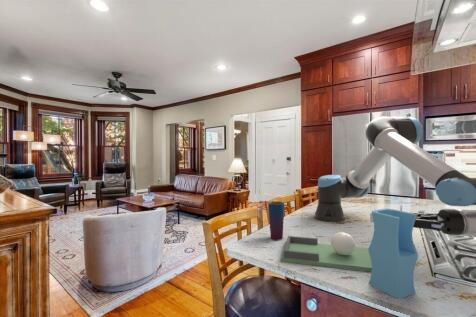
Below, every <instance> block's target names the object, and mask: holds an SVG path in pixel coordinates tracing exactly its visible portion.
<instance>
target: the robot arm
mask: <svg viewBox="0 0 476 317" xmlns="http://www.w3.org/2000/svg"><path fill="white" fill-rule="evenodd" d="M423 128H424V127H423V125H422V123H421V122H420V121H419V120H418V119H417V118H415V117H411V116H409V117H408V116H380V117H377V118H374V119H373V120H371V121H370V122H369V123H368V125H367V126H366V128H365V137H366V139H367V141H368V142H369V144H370V145H372V148H371V149H370V150H369V152H368V153H367V155H366V156H364V158H363V159H362V160H361V161H360V163H359V164H358V165H357V166H356V168H355V169H354V170H351V171H349V172H348V173H347V175H346V176H341V175H340V174H328V175H327V174H326V175H322V176H320V177H319V178H317V179H318V181H317V200H318V203H317V207H316V211H315V212H314V218H315V219H317V220H318V221H319V220H320V221H324V222H342V221H344V220H345V213H344V210H343V207H342V199H353V198H354V199H359V198H363V197H365V196H367V195H368V193H369V192H370V187H371V186H370V181H371V180H372V178H373V177H374V176H375V175H376V174H377V173H378V172H379V171H380V170H381V169H382V167H384V165H385V164H386V163H388V161H389V160H390V159H392V158H393V159H395V161H398V162H399V163H400V164H402V165H403V166H404V167H406V168H407V169H409V170H410V171H411V172H412V173H413V174H415V175H416V176H418V177H419V178H421V179H422V180H424V181H425V182H426V183H428V185H430V186H431V187H433V188H435V194H436V195H437V197H438V200H440V202H442V203H443V204H445V205H448V206H451V207H470V206H476V177H469V176H468V175H465V174H464V173H462V172H460V171H459V170H457V169H455V168H454V167H452V166H450V165H449V164H447V163H446V162H444V161H443V160H441V159H440V158H438V157H436V156H434V155H433V154H432V153H430V152H428V151H426V150H425V149H423V148H422V147H420V146H419V145H416V144H417V143H419V142H420V141H421V139H422V137H423V133H424V131H423ZM407 212H408V211H407ZM408 213H413V214H417V218H416V220H415V223H414V226H413V229H414V228H417V229H424V230H425V229H426V230H432V231H437V232H442V233H443V234H444V235H449V236H465V237H466V236H467V237H468V238H471V239H472V238H473V237H476V209H454V208H452V209H450V208H441V209H440V210H438V213H437V215H434V213H432V212H431V213H430V212H426V213H424V212H422V211H416V212H408ZM369 221H370V223H374V221H373V217H372V212H369Z"/></svg>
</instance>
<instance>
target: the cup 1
mask: <svg viewBox="0 0 476 317" xmlns="http://www.w3.org/2000/svg"><path fill="white" fill-rule="evenodd" d="M267 207H268V215H269V216H268V219H269V232H270V239H271V240H274V241H282V240H283V237H284V236H283V235H284V221H285V220H284V218H285V202H283V201H268V205H267Z"/></svg>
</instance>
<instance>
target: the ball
mask: <svg viewBox="0 0 476 317" xmlns="http://www.w3.org/2000/svg"><path fill="white" fill-rule="evenodd" d="M330 245H332V248H333V249H334V251H335V252H336V253H338V254H340V255H349V254H351V253H352V252H353V251H354V249H355V247H356V242H355V240H354V237H352V236H351V234H349V233H348V232H344V231H339V232H336V233H335V234H334V235H332V236H331V241H330Z"/></svg>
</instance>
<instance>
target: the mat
mask: <svg viewBox="0 0 476 317" xmlns="http://www.w3.org/2000/svg"><path fill="white" fill-rule="evenodd" d="M286 242H287V240H285V242H284V246H283V249H282V253H281V256H280V262H282V263H283V262H286V263H291V264H292V263H295V264H303V265H311V266H319V267H328V268H337V269H343V270H353V271H361V272H362V271H363V272H370V273H372V263H371V258H370V254H369V247H359V246H358V247H357V246H355V249H354V251H353V252H352V253H351V254H349V255H340V254H338V253H336V252H335V251H334V249H333V248H332V245H331V244H328V243H327V244H326V243H318V245H312V244H301V243H290V247H289V250H292V251H302V252H311V253H319V261H312V260H303V259H294V258H285V257H284V250H285V246H286Z"/></svg>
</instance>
